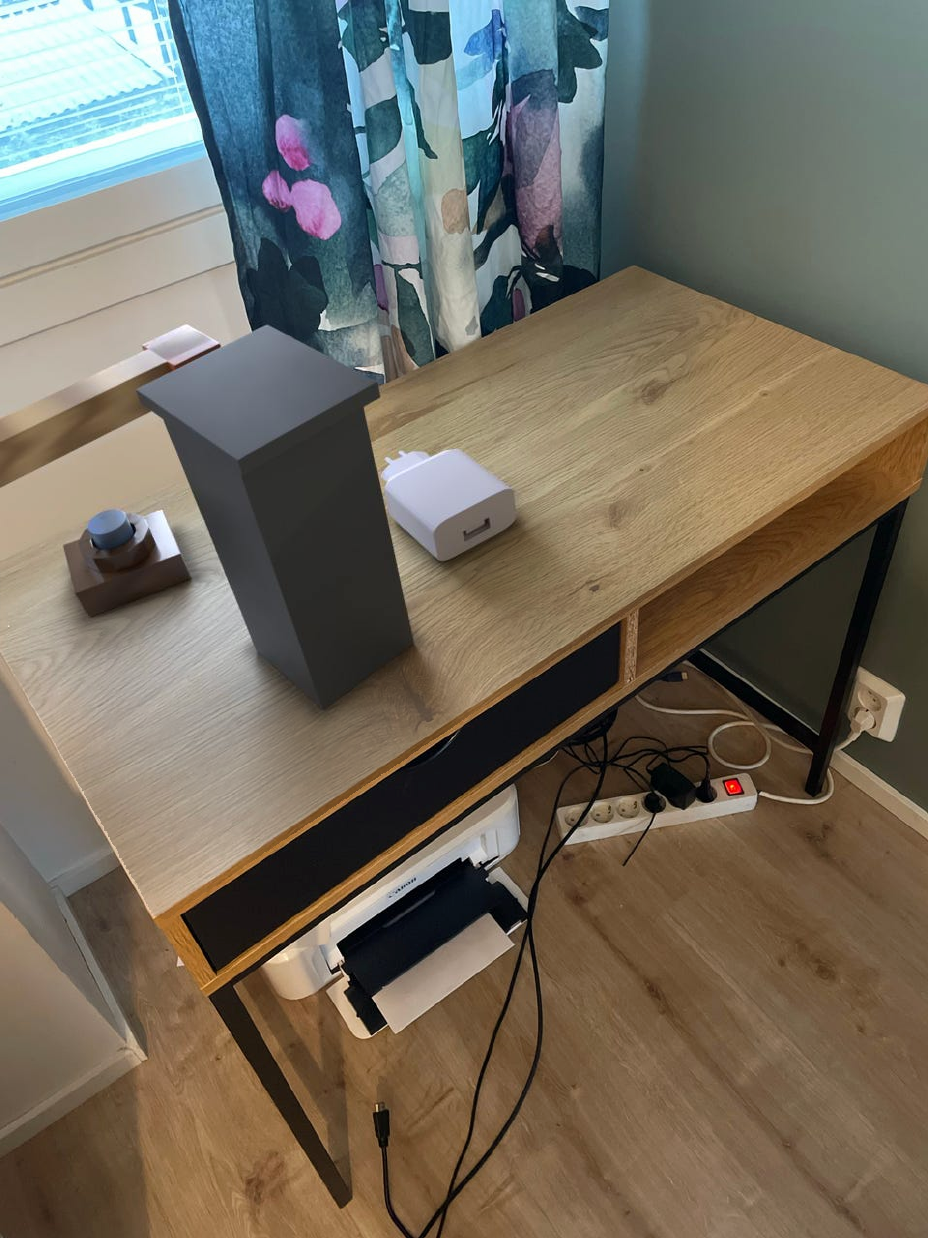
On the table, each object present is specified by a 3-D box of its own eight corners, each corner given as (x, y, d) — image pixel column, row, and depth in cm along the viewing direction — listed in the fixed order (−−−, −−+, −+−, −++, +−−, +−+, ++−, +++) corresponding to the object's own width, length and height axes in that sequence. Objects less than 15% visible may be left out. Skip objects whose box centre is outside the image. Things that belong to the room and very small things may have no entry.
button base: (88, 617, 84) (66, 579, 81) (76, 568, 90) (54, 530, 86) (191, 578, 87) (174, 539, 83) (173, 533, 92) (156, 494, 88)
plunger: (99, 555, 83) (90, 539, 82) (93, 534, 86) (84, 517, 84) (137, 541, 84) (129, 525, 83) (130, 521, 86) (121, 504, 85)
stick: (-45, 520, 60) (-69, 483, 57) (-71, 490, 62) (-95, 454, 60) (231, 378, 69) (220, 342, 67) (198, 358, 72) (186, 323, 70)
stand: (329, 724, 72) (237, 460, 54) (241, 645, 80) (135, 389, 61) (430, 648, 77) (377, 381, 58) (339, 580, 84) (267, 323, 66)
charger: (433, 456, 97) (517, 523, 87) (359, 492, 94) (439, 565, 84) (427, 418, 93) (513, 484, 84) (350, 455, 90) (432, 527, 81)
